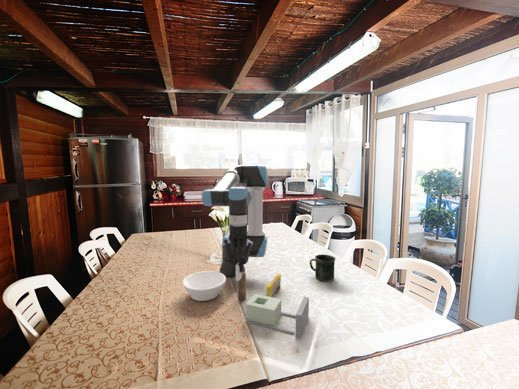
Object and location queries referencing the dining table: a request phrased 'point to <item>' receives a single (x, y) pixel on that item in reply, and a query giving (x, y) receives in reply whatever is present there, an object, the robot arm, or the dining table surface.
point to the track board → (300, 316)
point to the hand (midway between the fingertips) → (238, 278)
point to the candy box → (273, 286)
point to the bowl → (204, 285)
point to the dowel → (242, 288)
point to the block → (264, 309)
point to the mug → (324, 267)
